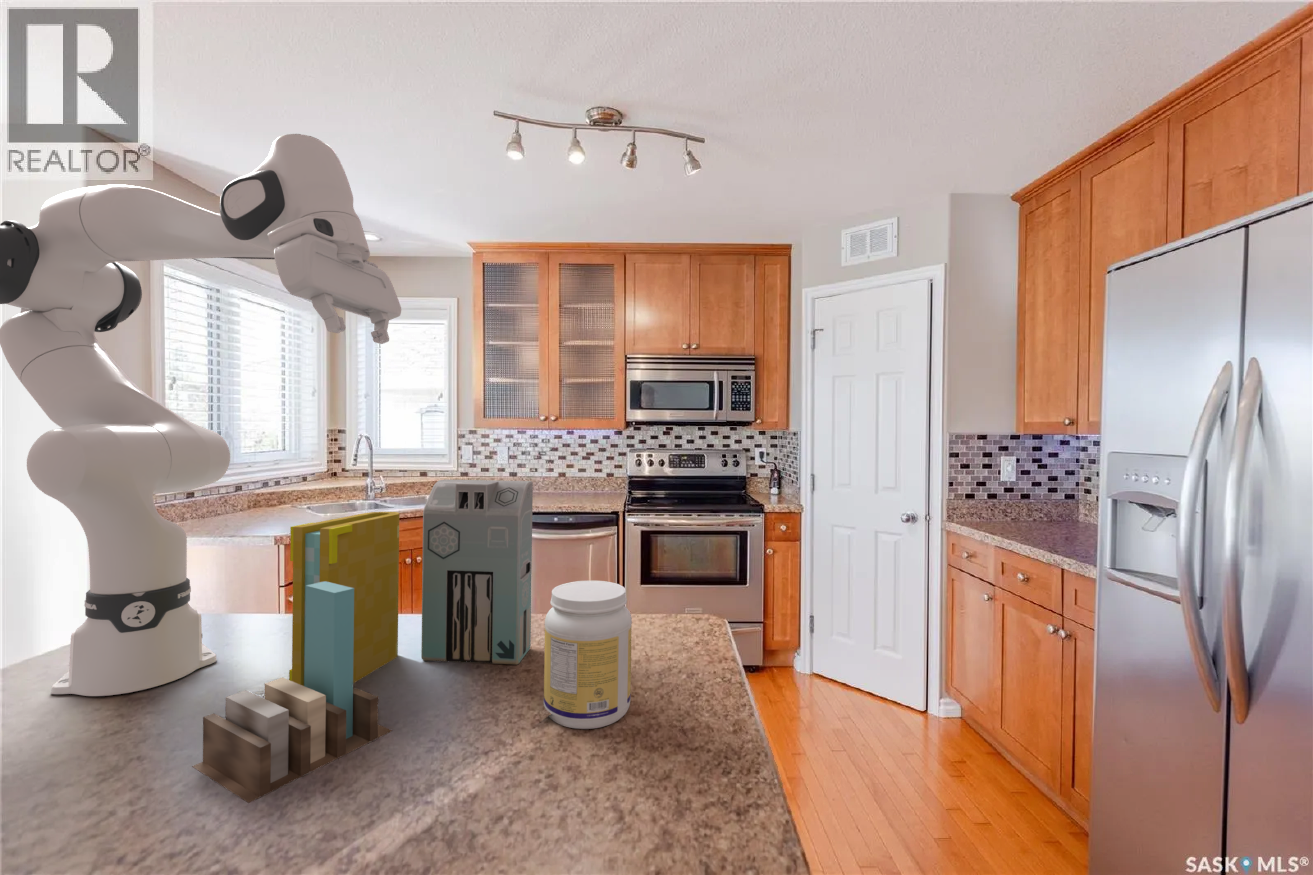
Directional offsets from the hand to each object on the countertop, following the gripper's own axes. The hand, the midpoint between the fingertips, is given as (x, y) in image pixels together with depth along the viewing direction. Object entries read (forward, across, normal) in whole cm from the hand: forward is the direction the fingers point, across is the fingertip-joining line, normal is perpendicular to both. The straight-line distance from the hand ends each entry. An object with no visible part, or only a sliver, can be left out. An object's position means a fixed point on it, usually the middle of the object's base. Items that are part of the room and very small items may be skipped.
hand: (360, 337), depth 81 cm
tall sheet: (+49, +12, -12) cm, 52 cm away
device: (+52, -18, -8) cm, 56 cm away
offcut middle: (+49, +16, -13) cm, 53 cm away
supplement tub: (+60, -3, +15) cm, 62 cm away
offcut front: (+48, +19, -14) cm, 54 cm away
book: (+48, -5, -21) cm, 53 cm away
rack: (+50, +15, -13) cm, 54 cm away
